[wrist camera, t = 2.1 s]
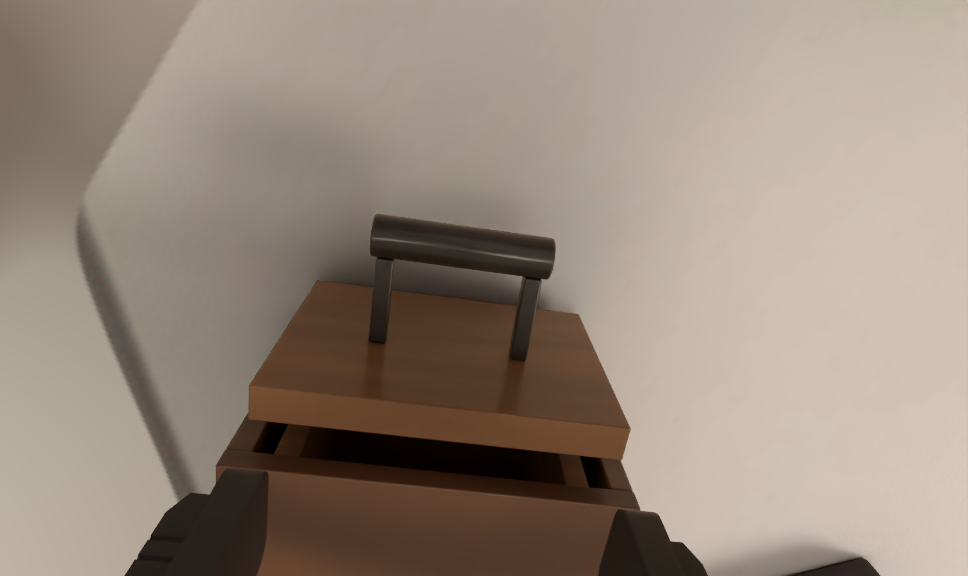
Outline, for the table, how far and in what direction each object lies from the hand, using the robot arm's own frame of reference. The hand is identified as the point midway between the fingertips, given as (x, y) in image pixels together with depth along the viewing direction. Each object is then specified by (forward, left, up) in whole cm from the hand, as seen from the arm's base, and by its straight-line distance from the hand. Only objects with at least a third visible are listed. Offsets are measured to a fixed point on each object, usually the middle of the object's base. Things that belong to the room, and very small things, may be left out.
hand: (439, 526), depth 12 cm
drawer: (+4, -4, -15) cm, 16 cm away
